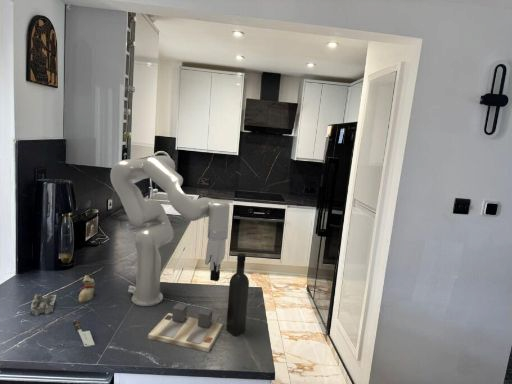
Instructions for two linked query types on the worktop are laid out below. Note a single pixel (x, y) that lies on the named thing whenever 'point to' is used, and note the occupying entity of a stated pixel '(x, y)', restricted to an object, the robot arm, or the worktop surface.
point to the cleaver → (84, 335)
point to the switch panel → (186, 333)
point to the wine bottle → (238, 299)
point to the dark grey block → (179, 312)
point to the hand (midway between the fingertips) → (214, 279)
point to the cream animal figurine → (87, 290)
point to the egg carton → (43, 304)
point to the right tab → (205, 317)
